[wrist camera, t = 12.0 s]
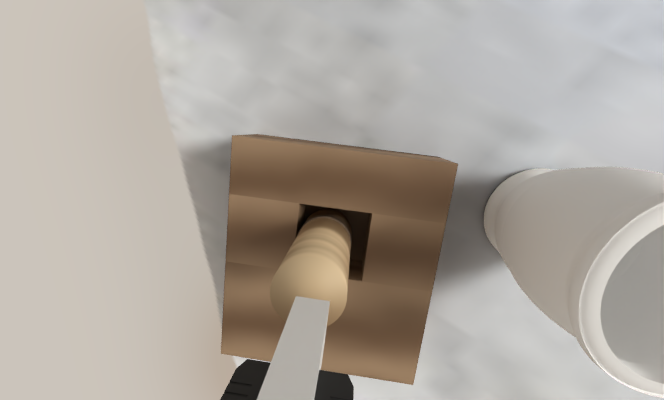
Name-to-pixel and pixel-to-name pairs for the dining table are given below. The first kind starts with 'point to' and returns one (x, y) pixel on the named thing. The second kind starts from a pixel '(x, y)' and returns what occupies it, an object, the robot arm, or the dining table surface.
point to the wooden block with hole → (365, 256)
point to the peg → (315, 265)
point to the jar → (591, 260)
